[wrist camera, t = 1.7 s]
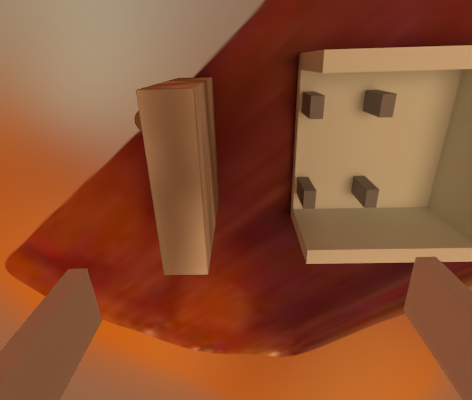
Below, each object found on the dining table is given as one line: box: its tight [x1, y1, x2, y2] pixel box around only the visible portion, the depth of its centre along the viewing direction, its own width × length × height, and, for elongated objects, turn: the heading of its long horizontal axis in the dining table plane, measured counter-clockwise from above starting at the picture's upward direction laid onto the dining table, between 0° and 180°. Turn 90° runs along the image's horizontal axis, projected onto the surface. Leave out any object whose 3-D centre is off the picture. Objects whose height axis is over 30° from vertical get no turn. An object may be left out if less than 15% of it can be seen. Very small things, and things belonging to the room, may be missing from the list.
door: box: [135, 77, 219, 275], centre depth 28 cm, size 5×14×14 cm, turn 2°
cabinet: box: [290, 45, 472, 264], centre depth 29 cm, size 17×18×10 cm
